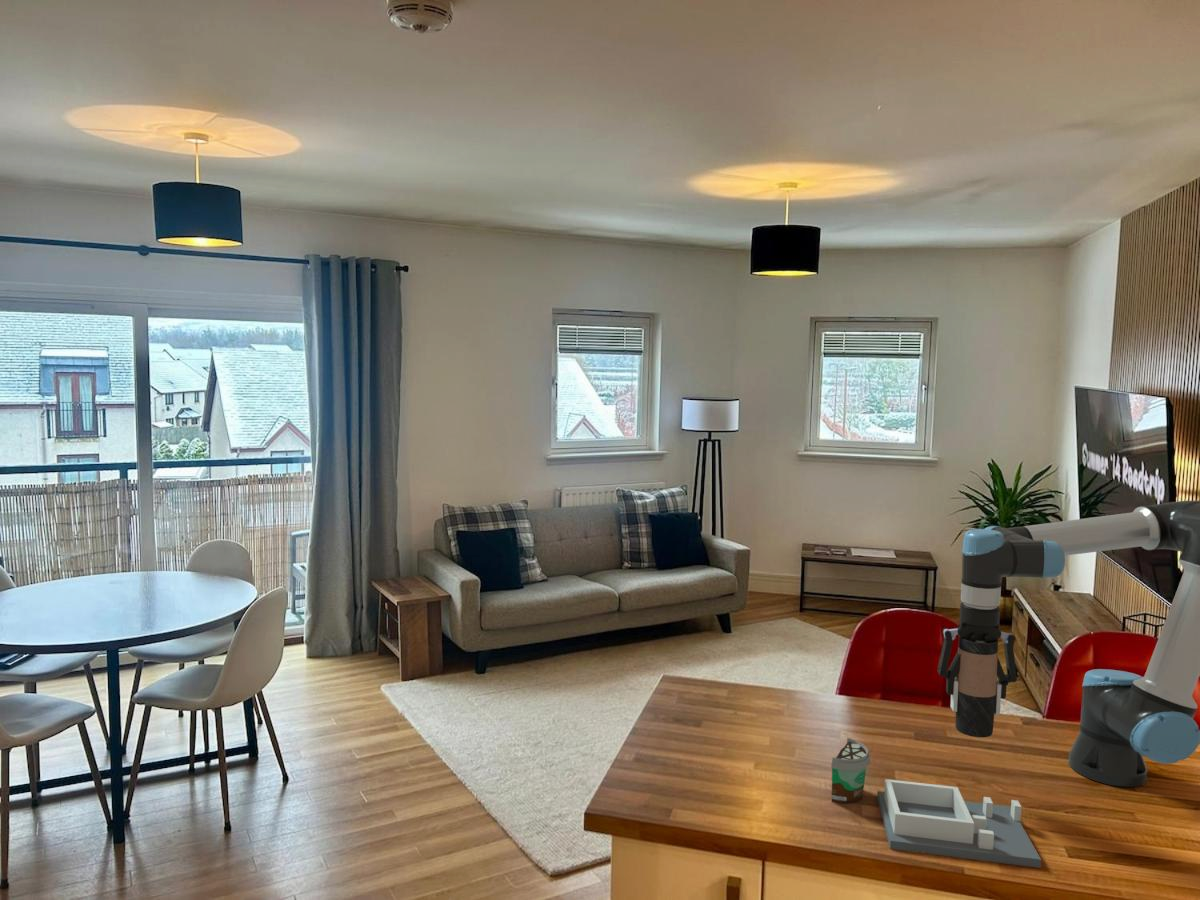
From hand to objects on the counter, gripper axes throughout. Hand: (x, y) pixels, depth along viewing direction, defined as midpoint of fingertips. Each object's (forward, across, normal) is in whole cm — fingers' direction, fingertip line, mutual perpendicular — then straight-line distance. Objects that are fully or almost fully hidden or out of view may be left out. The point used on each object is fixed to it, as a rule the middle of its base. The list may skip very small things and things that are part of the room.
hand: (974, 710), depth 173 cm
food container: (+19, +25, +6) cm, 31 cm away
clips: (+17, -1, +16) cm, 24 cm away
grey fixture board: (+19, +7, +15) cm, 25 cm away
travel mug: (+4, 0, 0) cm, 4 cm away
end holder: (+17, +12, +15) cm, 25 cm away
